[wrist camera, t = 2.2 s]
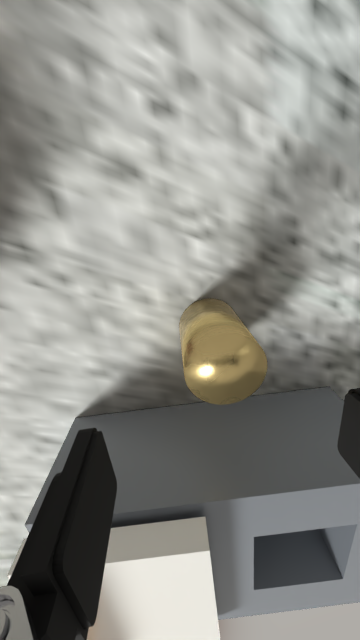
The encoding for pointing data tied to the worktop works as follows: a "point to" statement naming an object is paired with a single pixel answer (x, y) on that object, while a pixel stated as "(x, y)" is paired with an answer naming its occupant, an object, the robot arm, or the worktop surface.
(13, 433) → the worktop surface
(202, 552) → the lid
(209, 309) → the peg
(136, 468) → the housing
